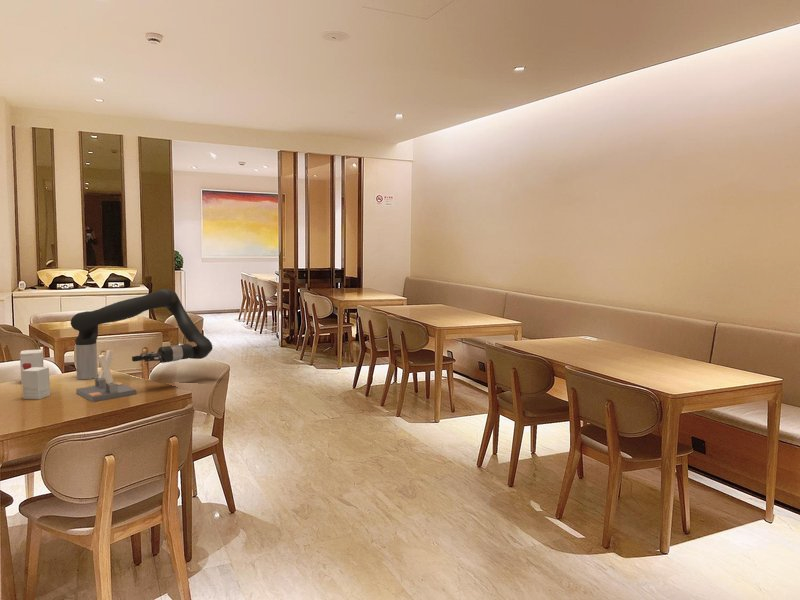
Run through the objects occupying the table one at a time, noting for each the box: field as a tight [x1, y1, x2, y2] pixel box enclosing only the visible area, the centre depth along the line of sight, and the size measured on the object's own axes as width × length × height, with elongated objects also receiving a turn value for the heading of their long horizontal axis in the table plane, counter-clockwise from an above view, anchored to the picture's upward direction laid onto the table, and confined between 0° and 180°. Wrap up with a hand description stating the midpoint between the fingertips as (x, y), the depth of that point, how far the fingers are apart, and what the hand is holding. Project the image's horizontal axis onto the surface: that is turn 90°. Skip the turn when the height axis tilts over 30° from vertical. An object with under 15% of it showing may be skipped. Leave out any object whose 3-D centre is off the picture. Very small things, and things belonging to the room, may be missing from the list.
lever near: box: [97, 353, 115, 387], centre depth 240 cm, size 3×2×15 cm
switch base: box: [75, 377, 137, 403], centre depth 246 cm, size 20×18×6 cm
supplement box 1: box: [19, 349, 44, 385], centre depth 266 cm, size 9×9×15 cm
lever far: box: [97, 349, 115, 382], centre depth 251 cm, size 3×2×15 cm
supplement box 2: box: [21, 366, 51, 400], centre depth 238 cm, size 7×7×13 cm
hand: (132, 359), depth 247 cm, fingers closed
